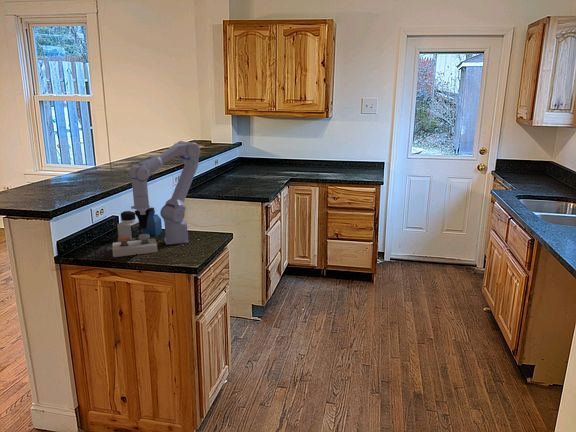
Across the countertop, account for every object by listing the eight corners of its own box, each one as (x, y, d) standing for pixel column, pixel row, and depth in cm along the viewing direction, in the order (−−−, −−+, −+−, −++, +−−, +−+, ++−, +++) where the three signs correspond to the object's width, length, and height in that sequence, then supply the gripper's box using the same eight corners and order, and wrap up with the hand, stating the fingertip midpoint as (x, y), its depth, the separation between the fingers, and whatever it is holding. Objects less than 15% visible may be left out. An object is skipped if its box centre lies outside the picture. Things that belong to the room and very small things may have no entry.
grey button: (150, 242, 192) (149, 233, 191) (151, 245, 187) (150, 236, 187) (139, 243, 190) (138, 234, 189) (139, 246, 186) (138, 237, 185)
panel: (155, 245, 195) (155, 238, 194) (157, 252, 187) (157, 245, 186) (113, 249, 190) (112, 242, 189) (113, 257, 181) (112, 249, 180)
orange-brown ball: (130, 244, 189) (129, 235, 188) (130, 247, 185) (129, 238, 184) (118, 245, 187) (117, 236, 187) (118, 248, 183) (117, 239, 182)
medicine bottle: (132, 240, 202) (129, 214, 198) (118, 239, 203) (115, 213, 200) (141, 235, 208) (139, 210, 205) (128, 234, 210) (125, 209, 207)
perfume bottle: (155, 235, 208) (153, 210, 205) (143, 235, 210) (141, 209, 206) (162, 232, 214) (160, 207, 211) (149, 231, 215) (147, 206, 212)
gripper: (129, 192, 189) (132, 224, 192) (130, 199, 176) (133, 233, 179) (147, 191, 191) (150, 222, 195) (149, 198, 178) (152, 231, 181)
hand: (143, 227), depth 187 cm, fingers closed
